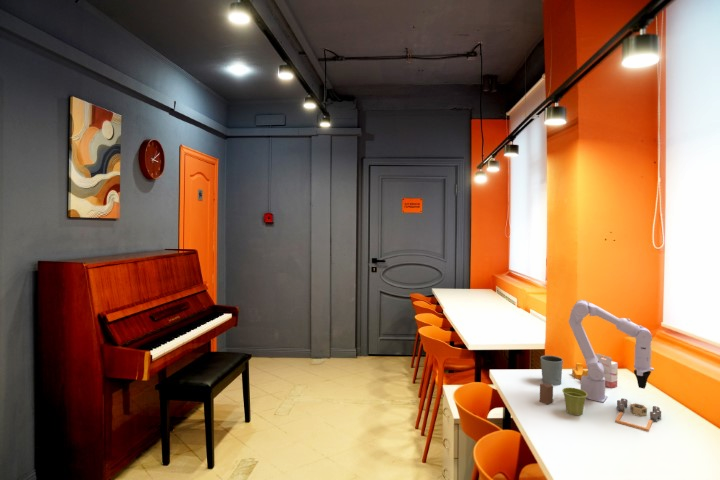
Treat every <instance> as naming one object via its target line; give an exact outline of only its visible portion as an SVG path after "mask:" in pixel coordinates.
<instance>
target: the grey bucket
mask: <svg viewBox="0 0 720 480" xmlns="http://www.w3.org/2000/svg"><path fill="white" fill-rule="evenodd" d="M563 363H564V360H563V358H562V357H559V356H556V355H541V356H540V367H541V377H542V379H541V380H542V383H548V384H550V385H553V386H560V385H562V376H563V375H562V374H563V372H562V371H563Z"/></svg>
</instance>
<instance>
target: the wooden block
mask: <svg viewBox="0 0 720 480" xmlns="http://www.w3.org/2000/svg"><path fill="white" fill-rule="evenodd" d="M539 402H541V403H542V404H544V405H550V404H551V405H552V404H553V403H554V385H550V384H548V383H544V382H542V383H540V384H539Z"/></svg>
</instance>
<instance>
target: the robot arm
mask: <svg viewBox="0 0 720 480" xmlns="http://www.w3.org/2000/svg"><path fill="white" fill-rule="evenodd" d="M588 315H589V317H596V316H597V317H599V318H601V319H603V320H605V321H607V322H609V323H610V324H613V325H615V327H616V329H617V330H619V331H620V332H622V333H624V334H626V335H628V336H629V337H631V338H635V345H634V365H633V368H634V370H633V373H634V375H635V378H636V380H637V381H636V382H637V386H638V388H640V389H644V390H645V388H646V387H647V382H648V379H649V377H650V375H651V373H652V371H654V370H655V368H654V367H652V366H651V365H652V341H653V337H652V333H651V331H650V330H649V329H648V328H647V327H645V326H642V325H641V324H640V325H638V324H637V323H634V322H633V321H631V319H630V318H629V317H628V318H625V317H620V318H619V317H617V316H615V315H614V314H612V313H610V312H609V311H607V310H605V309H603V308H602V307H600V306H598V305H596V304H594V303H592V302H589V301H587V300H585V299H579V300H578V301H576V303H575V304H573V306H572V309H570V315H569V318H568V319H569V320H568V325H569V326H570V328H571V331H572V332H573V335H574V338H575V340H576V342H577V344H578V347H579V349H580V351H581V353H582V356H583V359H584V361H585V364H586V368H587V370H588V375H587V376H582V378H581V380H580V390H583V391H585V392H586V393H587V394H588V395H587V397H586V399H587V400H588V399H589V400H591V401H595V402H599V403H605V401H606V400H607V398H608V396H607V395H606V386H605V378H604V366H603V364H602V363H601V362H600V361H599V360H598V358H597V356H596V353H595V351H594V349H593V346H592V344H591V342H590V339H589V337H588V336H587V333H586V330H585V328H584V327H583V324H582V322H583V320H584V318H585V317H587V316H588Z"/></svg>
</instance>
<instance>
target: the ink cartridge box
mask: <svg viewBox="0 0 720 480" xmlns="http://www.w3.org/2000/svg"><path fill="white" fill-rule="evenodd" d="M595 355H596V356H597V358H598V360H599V361H600V362H601V363H602V364H603V366H604V378H605V387H607V388H610V389H612V388H617V387H618V375H619V373H618V371H619V370H618V369H619V368H618V367H619V365H618V362H616V361H613V358H612V357H610V356H606V355H604V354H600V353H598V352H597V353H595Z"/></svg>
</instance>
